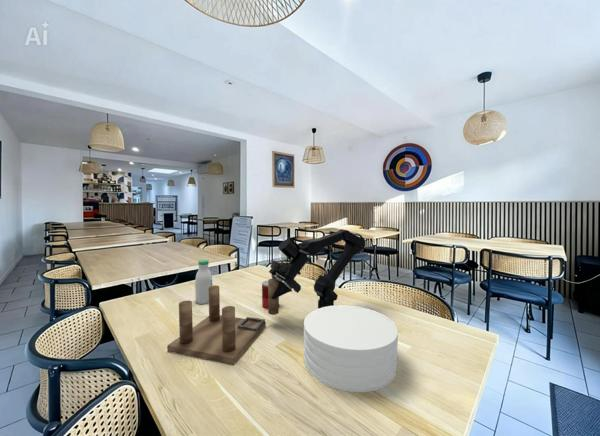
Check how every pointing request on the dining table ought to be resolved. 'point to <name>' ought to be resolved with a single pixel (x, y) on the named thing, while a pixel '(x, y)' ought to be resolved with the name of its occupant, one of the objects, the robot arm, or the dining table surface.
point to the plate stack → (350, 348)
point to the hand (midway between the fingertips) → (270, 296)
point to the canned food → (265, 294)
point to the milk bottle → (203, 282)
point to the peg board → (215, 332)
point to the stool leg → (272, 303)
